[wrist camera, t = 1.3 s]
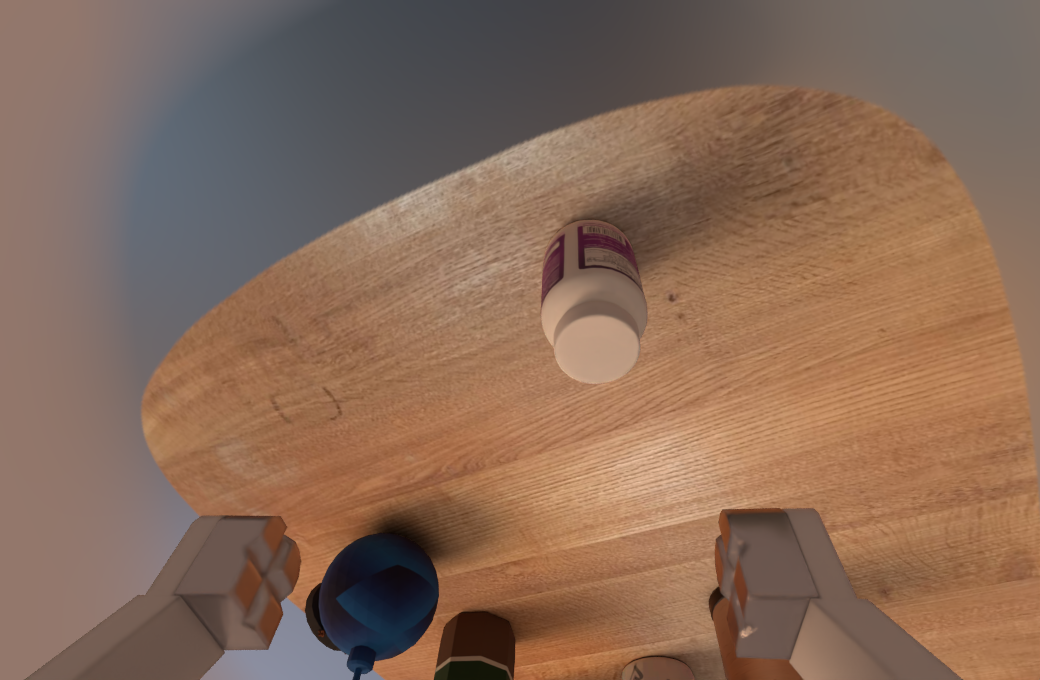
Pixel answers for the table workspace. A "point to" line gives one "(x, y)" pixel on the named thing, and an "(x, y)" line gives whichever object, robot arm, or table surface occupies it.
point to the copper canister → (744, 674)
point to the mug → (657, 669)
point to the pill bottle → (592, 301)
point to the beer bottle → (476, 648)
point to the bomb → (374, 600)
